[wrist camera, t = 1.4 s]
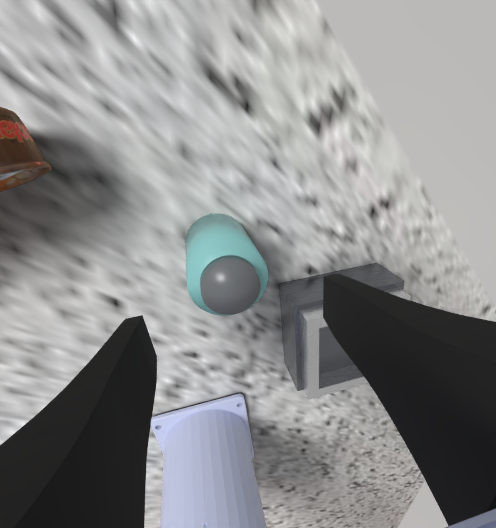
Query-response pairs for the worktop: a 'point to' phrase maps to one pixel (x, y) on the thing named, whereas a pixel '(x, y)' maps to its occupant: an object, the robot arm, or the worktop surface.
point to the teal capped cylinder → (223, 266)
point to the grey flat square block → (323, 331)
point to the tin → (18, 153)
